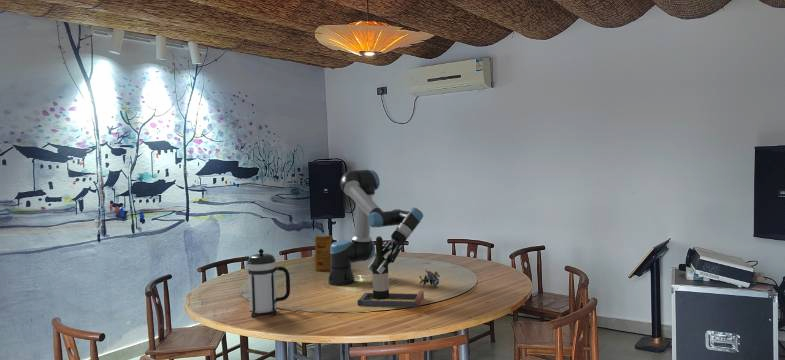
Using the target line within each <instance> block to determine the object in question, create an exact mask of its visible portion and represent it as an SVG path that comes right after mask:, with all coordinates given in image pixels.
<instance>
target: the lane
mask: <svg viewBox="0 0 785 360" xmlns="http://www.w3.org/2000/svg"><path fill="white" fill-rule="evenodd" d="M424 292H425V291H424V290H419V292H418V293H403V292H402V293H401V292H400V293H399V292H398V293H394V292H392V293H390V292H389V298H388V299H389V300H388V299H387V300H376V299H373V292H364V293H363V294H362V295H361V296H360V297H359V298H358V299H357V306H358V307H385V308H386V307H387V308H388V307H391V308H394V307H395V308H399V307H400V308H420V307H421V305H422V304H421V303H423V302H424V300H423V299H425V298H424V297H425V295H424V294H425V293H424ZM410 300H411V301H410ZM413 300H414V301H413ZM422 301H423V302H422Z"/></svg>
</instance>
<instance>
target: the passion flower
mask: <svg viewBox="0 0 785 360" xmlns="http://www.w3.org/2000/svg"><path fill="white" fill-rule="evenodd" d="M425 272H426V274H425V275H424V279H423V278H422V276H421V275H420V276H419V279H420V280H421V281H419V285H420V284H422V287H424V286H425V285H426V283H427V284H430V286H432V285H433V286H434V288H435V289H436V288H437V289H439V285H440V284H439V283H440V279H439V278H440V277H441V276H440V274H439V273H438V272H437V271H434V272H433V271H431V270H427V269H425Z"/></svg>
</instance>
